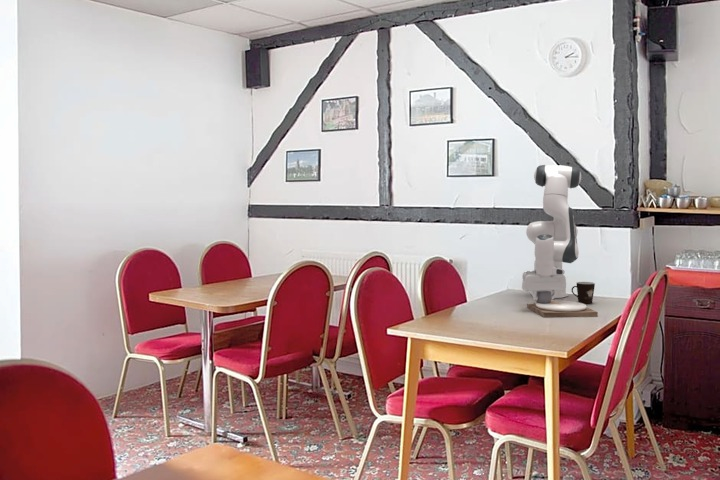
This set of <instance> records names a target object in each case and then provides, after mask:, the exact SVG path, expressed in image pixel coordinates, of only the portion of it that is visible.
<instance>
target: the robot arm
mask: <svg viewBox="0 0 720 480" xmlns="http://www.w3.org/2000/svg"><path fill="white" fill-rule="evenodd" d="M533 179H534V182H535V184H536V185H537V186H539V187H542V188H543V187H544V191H543V197H542V206H543V207H542V209H543V211H544V213H545V214H547V215H548V216H550V217H553V220H539V221H538V220H537V221H533V222H530V223H528V225H527V227H526V229H525V230H526V231H525V233H526V236H527V239H528V240H529V241H530V242H531V243H533V244H534V257H535V260H534V269H533V270H525V271H524V272H523V273H522V283H521V289H522V290H523V291H525V292H529V294H530V295H531V296H532V300H533V301H535V302H536V301H537V300H538V297H537V296H536V291H550V292H551V301H555V299H561V298H565V297H569V294H568V293H567V290H566V288H567V279H566V276H565V270H564V269H563V263H567V264H572V263H574V262H575V261H577V260H578V258H579V247H578V239H577V236H578V234H579V233H578V228H577V225H576V220H575V219H576V217H575V213H574V210H573V208H572V207H570V206H569V203H568V196H569V193H568V192H569V189H576V188H577V187H579V185H580V183H581V181H582V173H581V169H580V168H579V167H577V166H568V165H563V164H561V165H560V164H559V165H558V164H554V165H553V164H549V165H546V164H542V165H541V164H540V165H538V166H537V167H536V169H535V171H534V174H533Z"/></svg>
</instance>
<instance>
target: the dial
mask: <svg viewBox="0 0 720 480" xmlns="http://www.w3.org/2000/svg"><path fill="white" fill-rule="evenodd" d="M536 296H537V297H538V300H537V301H535V304H536V307H538V308H540V309H545V310H552V311H582V310H585V309H586V308H588V306H587V305H588V304H583V303H579V302H578V301H571V300H570V301H569V300H551V292H550V291H536Z"/></svg>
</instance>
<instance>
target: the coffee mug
mask: <svg viewBox="0 0 720 480" xmlns="http://www.w3.org/2000/svg"><path fill="white" fill-rule="evenodd" d="M595 285H596V282H592V281H576V285H574V286H572V287H571V293H572V294H573V296H575V297H576V298H577V302H579V303H583V304H585V305H592V304H593V302H594V301H593V300H594V292H595ZM575 288H576V293H577V294H575V292H574V289H575Z"/></svg>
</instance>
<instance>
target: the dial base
mask: <svg viewBox="0 0 720 480" xmlns="http://www.w3.org/2000/svg"><path fill="white" fill-rule="evenodd" d="M526 309H527V310H530V311H531V312H533V313H536V314H537V315H539V316H540V317H543V318H584V317H585V318H589V317H593V318H594V317H595V318H596V317H598V316H599V314H598V313H599V312H598V311H596V310H593V309H592V308H590V307H587V308H586V309H585V310H582V311H552V310H545V309H540V308H538V307H536V303H532V302H531V303H526Z"/></svg>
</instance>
